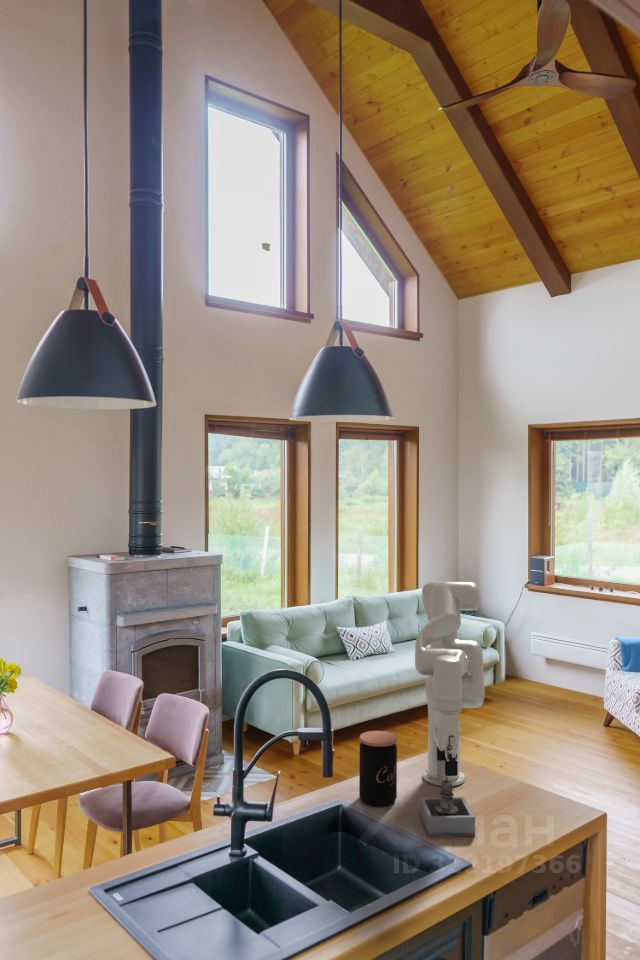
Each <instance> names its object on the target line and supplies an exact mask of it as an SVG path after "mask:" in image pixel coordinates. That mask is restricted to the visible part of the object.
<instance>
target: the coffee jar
mask: <svg viewBox="0 0 640 960" xmlns="http://www.w3.org/2000/svg"><path fill="white" fill-rule="evenodd" d="M359 741H360V743H359V775H358V776H359V780H358V781H359V783H358V784H359V787H358V788H359V791H358V793H359V794H358V795H359V798H360V799H361V802H362V803H363V804H365V805H367V806H369V807H374V806H375V808H384V807H389V806H392V804H394V802H395V801H396V800H397V799H398V798H397V796H398V795H397V793H398V790H397V789H398V786H397V785H398V784H397V783H398V770H397V769H398V746H397V744H396V743H397V741H398V738H397V735H396V734H394V733H392V732H390V731H383V730H369V731H365V732H362V733H360V735H359Z"/></svg>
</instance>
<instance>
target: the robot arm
mask: <svg viewBox="0 0 640 960" xmlns="http://www.w3.org/2000/svg"><path fill="white" fill-rule="evenodd" d="M421 596H422V597H421V598H422V604H423V605H422V606H423V608H424V612H425V614H426V616H427V620H428V623H426V624H425V625H424V626H423V627H422V629H421V630H420V631H419V633H418V634H417V637H416V639H415V646H414V647H415V648H414V651H415V652H414V666H415V670H416V671H417V673H418V674H419V675H421V676H425V677H428V678H427V680H426V681H425V696H426V703H427V715H428V716H427V717H428V722H427V723H428V725H427V726H428V727H427V729H428V732H427V733H428V735H427V737H428V738H427V739H428V740H427V743H428V744H427V745H428V746H427V751H428V752H427V755H428V757H427V759H428V761H427V763H428V764H427V769H425V770H424V771H423V773H422V778H423V780H424V781H425V782H427V783H428V784H431V785H435V786H439V787H441V783H442V781H443V780H446V777H448V780H450V781H451V782H452V787H455V786H460V785H462V784H463V783H464V782H465V781H466V779H465V778H466V775H465V774H464V773H463V772H462V771H461V770H460V769H461V765H460V764H461V763H460V762H461V722H460V719H459V713H461V712H462V711H463V708H465V709H476V708H477V709H478V708H480V707H482V706H483V705H484V702H485V701H484V700H485V677H484V672H485V671H484V654H483V650H482V646H481V645H480V643H479V642H478V641H475V640H470V639H468V640H467V639H460V638H459V637H458V634H459V633H458V631H459V630H460V628H461V625H462V623H461V622H462V620H461V619H462V618H461V611H475V612H476V611H477V610H479V607H480V605H481V600H482V598H481V596H482V595H481V590H480V588H479V585H478V584H477V583H475V582H472V581H430V582H427V583H425V584H424V585H423V587H422V589H421ZM429 645H430V647H428V646H429ZM466 673H467V675H465V674H466Z"/></svg>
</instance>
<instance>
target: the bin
mask: <svg viewBox="0 0 640 960" xmlns="http://www.w3.org/2000/svg"><path fill="white" fill-rule="evenodd" d="M439 804H441V797H420V798H419V818H420V820H421V823H422V825H423V827H425V828H424V830H425V831H426V832H425V833H426V835H427V837H428V838H432V839H433V838H467V837H470V838H471V837H476V816H475V814H474V812H473V811H472V809H471V807H470V805H469V803H468V802H467V800H466V799H465V797H464V796H462V797H461V796H459V797H457V796H456V797H455V796H453V805H454V806H456V807H457V808H458V812H457V814H456V816H438V814H437V810H436V806H437V805H439Z"/></svg>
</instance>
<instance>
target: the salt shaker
mask: <svg viewBox="0 0 640 960" xmlns="http://www.w3.org/2000/svg"><path fill="white" fill-rule="evenodd" d="M440 787H441V789H440V792H439V796H440V798H441V804H439V805H437V806H436V810H437V814H438V816H456V814H457V812H458V808H457V807H456V806H454V805H453V797H455V796H454V795H455V794H454V793H453V786H452V782H451V781H450V780H448V777H446V780H443V781H442V783H441V786H440Z"/></svg>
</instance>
